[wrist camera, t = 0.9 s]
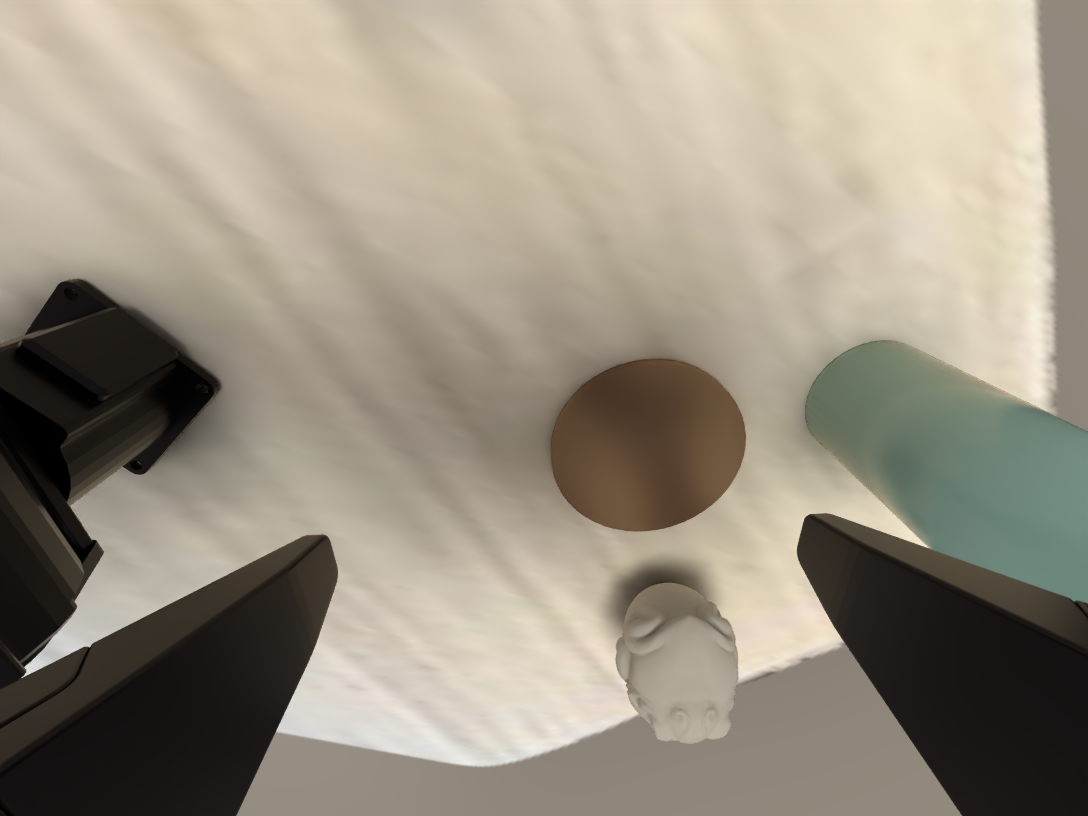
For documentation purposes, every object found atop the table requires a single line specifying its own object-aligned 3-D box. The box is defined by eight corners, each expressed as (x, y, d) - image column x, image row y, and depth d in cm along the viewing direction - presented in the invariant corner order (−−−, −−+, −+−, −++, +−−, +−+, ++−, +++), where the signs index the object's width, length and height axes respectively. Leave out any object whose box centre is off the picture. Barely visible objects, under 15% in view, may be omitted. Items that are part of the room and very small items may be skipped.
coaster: (630, 551, 26) (632, 559, 26) (511, 445, 23) (510, 452, 23) (776, 450, 24) (782, 457, 23) (665, 317, 21) (668, 321, 20)
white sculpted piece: (603, 644, 30) (623, 773, 23) (609, 553, 27) (634, 674, 20) (705, 641, 30) (752, 768, 23) (722, 550, 27) (782, 669, 20)
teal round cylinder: (841, 471, 25) (1102, 729, 13) (782, 397, 23) (1029, 625, 12) (950, 400, 23) (1349, 626, 12) (897, 314, 21) (1314, 486, 10)
